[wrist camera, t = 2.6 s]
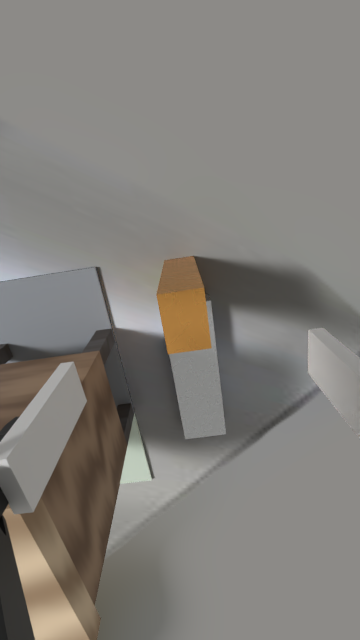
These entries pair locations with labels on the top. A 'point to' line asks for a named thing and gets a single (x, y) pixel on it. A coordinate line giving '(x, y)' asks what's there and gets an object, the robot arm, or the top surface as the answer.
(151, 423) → the top surface
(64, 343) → the mat
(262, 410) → the top surface
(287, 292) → the top surface
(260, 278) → the top surface
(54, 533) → the cabinet
